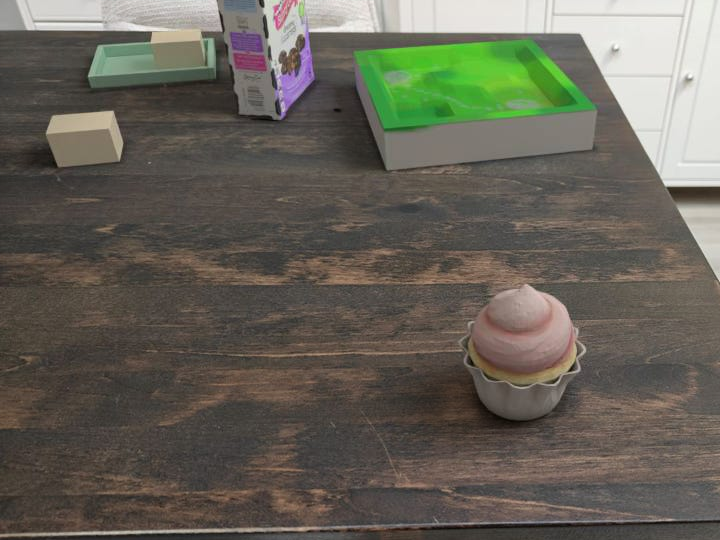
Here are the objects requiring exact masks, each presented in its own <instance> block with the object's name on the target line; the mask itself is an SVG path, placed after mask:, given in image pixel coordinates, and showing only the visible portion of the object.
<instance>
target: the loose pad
mask: <svg viewBox="0 0 720 540" xmlns="http://www.w3.org/2000/svg"><path fill="white" fill-rule="evenodd" d="M45 137H46V140H47V142H48V144H49V147H50V150H51V153H52V155H53V157H54V160H55V163H56V166H57V168H68V167H78V166H79V167H81V166H90V165H98V164H110V163H120V162H121V158H122V152H123V147H124V140H123V138H122V137H123V136H122V134H121V131H120V128H119V124H118V121H117V117H116V114H115V111H114V110H105V111H93V112H81V113H79V112H78V113H68V114H67V113H66V114H56V115H55V114H54V115H52V116H51V119H50V121H49V124H48V126H47V128H46V132H45Z"/></svg>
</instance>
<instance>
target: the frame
mask: <svg viewBox="0 0 720 540" xmlns="http://www.w3.org/2000/svg"><path fill="white" fill-rule="evenodd" d="M202 39H203V43H204V48H205V53H206V66H202V67H188V68H174V69H160V70H157V67H156V63H155V60H154V56H153V52H152V48H151V44H150V43H151V41H143V42H129V43H113V44H98V45H97V46H96V47H97V48H96V50H95V53H94V57H93V59H92V62H91V65H90V68H89V71H88V75H87V80H88V82H89V86H90V89H100V88H112V87H127V86H139V85H141V86H142V85H151V84H152V85H153V84H167V83H179V82H181V83H182V82H191V81H194V82H195V81H204V80H205V81H206V80H207V81H208V80H217V50H216V49H217V48H216V45H215V44H216V42H215V38H214V37H206V38H204V37H203V38H202Z"/></svg>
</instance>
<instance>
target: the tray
mask: <svg viewBox="0 0 720 540" xmlns="http://www.w3.org/2000/svg"><path fill="white" fill-rule="evenodd" d="M352 52H353V63H354V64H353V65H354V73H355V74H354V76H355V86H356V91H357V93H358V96H359V98H360V99H359V100H360V102H361V104H362V107H363V110H364V113H365V115H366V119H367V121H368V124H369V126H370V128H371V132H372V134H373V137H374V140H375V143H376V145H377V148H378V150H379V153H380V156H381V159H382V161H383V164H384V167H385V169H386V171H396V170H406V169H416V168H425V167H434V166H444V165H446V166H447V165H454V164H463V163H464V164H465V163H473V162H483V161H485V162H486V161H493V160H503V159H511V158H523V157H532V156H541V155H552V154H561V153H570V152H579V151H590V150H591V151H592V150H593V148H594V139H595V133H596V131H595V130H596V124H597V115H598V108H597V107H596V106H595V104H594V103H592V101H590V100H589V98H588V97H587V96H586V95H585V94H584V93H583V92H582V91H581V90H580V89H579V88H578V86H576V84H575V83H574V82H573V81H571V79H570V78H569V77H568V76H567V74H565V73H564V72H563V71H562V70H561V69H560V68H559V66H557V65H556V63H555V62H554V61H553V60H552V59H551V58H550V57H549V56H548V55H547V54H546V53H545V52H544V51H543V50H542V48H541V47H539V46H538V44H537V43H536V42H535V41H534V40H533V39H532V38H527V39H526V38H525V39H524V38H523V39H513V40H512V39H511V40H497V41H484V42H469V43H454V44H453V43H452V44H439V45H424V46H411V47H410V46H409V47H408V46H407V47H395V48H394V47H393V48H382V49H381V48H379V49H364V50H353V51H352Z"/></svg>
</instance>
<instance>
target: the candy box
mask: <svg viewBox="0 0 720 540" xmlns="http://www.w3.org/2000/svg"><path fill="white" fill-rule="evenodd" d="M216 5H217V10H218V15H219V21H220V26H221V32H222V36H223V41H224V46H225V53H226V57H227V63H228V67H229V72H230V78H231V83H232V88H233V93H234V98H235V103H236V109H237V113H238V115H245V116H243V117H245V118H253V119H254V118H255V119H264V120H272V121H273V120H275V121H281V120H283V119H284V118H285V117H286V115H287V114H288V112H287V111H288V110H289V109H290V108H291V107H292V105H293V104H294V103H295V102H296V101H297V100H298V98H299V97H300V96H301V95H302V94H303V93H304V92H305V90H306V89H307V88H308V87H309V86H310V85H311V84H312V82H313V81H315V79H316V78H315V70H314V69H315V68H314V62H313V55H312V48H311V39H310V32H309V31H310V30H309V23H308V17H307V8H306V1H305V0H216Z"/></svg>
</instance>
